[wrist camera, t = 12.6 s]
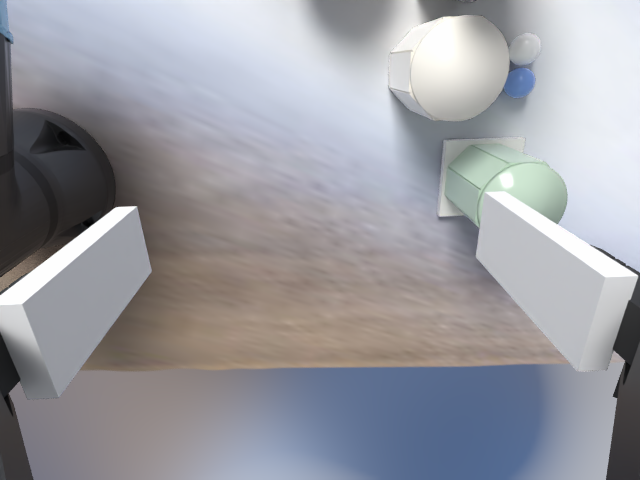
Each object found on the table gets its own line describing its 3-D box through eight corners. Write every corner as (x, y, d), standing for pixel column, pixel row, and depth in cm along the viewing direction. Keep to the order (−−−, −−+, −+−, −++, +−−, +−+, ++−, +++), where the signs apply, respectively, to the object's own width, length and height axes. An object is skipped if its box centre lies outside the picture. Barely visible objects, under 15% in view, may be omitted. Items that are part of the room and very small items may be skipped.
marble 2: (496, 97, 44) (509, 99, 41) (500, 67, 43) (514, 68, 40) (523, 96, 44) (538, 98, 41) (528, 66, 43) (543, 67, 40)
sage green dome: (449, 145, 45) (486, 166, 36) (521, 142, 45) (576, 162, 36) (442, 213, 48) (474, 248, 39) (509, 210, 48) (557, 245, 39)
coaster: (436, 213, 49) (439, 216, 48) (443, 139, 46) (446, 141, 45) (508, 210, 49) (512, 213, 49) (521, 136, 46) (525, 138, 45)
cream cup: (387, 110, 44) (409, 123, 35) (390, 27, 41) (415, 16, 32) (460, 108, 44) (501, 119, 35) (469, 24, 41) (517, 13, 32)
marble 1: (501, 65, 43) (514, 66, 40) (505, 34, 41) (519, 32, 39) (528, 64, 43) (544, 65, 40) (534, 33, 42) (550, 31, 39)
